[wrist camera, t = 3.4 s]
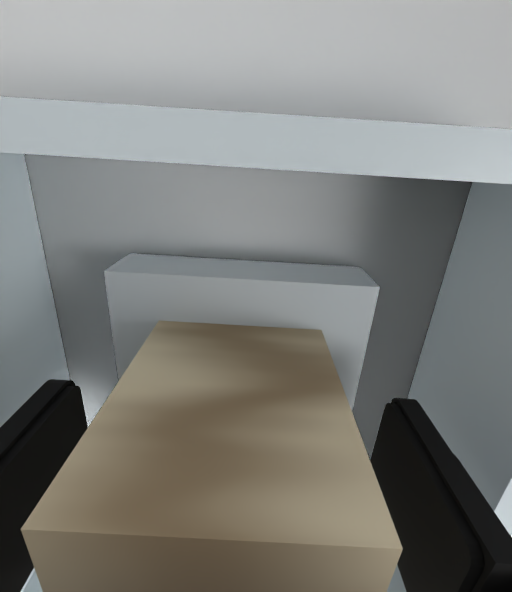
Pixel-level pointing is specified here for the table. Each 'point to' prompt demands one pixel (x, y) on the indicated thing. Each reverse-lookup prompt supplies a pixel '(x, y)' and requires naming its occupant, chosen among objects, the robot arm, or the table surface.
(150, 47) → the table surface
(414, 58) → the table surface
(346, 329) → the square storage bin
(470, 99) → the table surface
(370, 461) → the robot arm
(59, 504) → the birch block
